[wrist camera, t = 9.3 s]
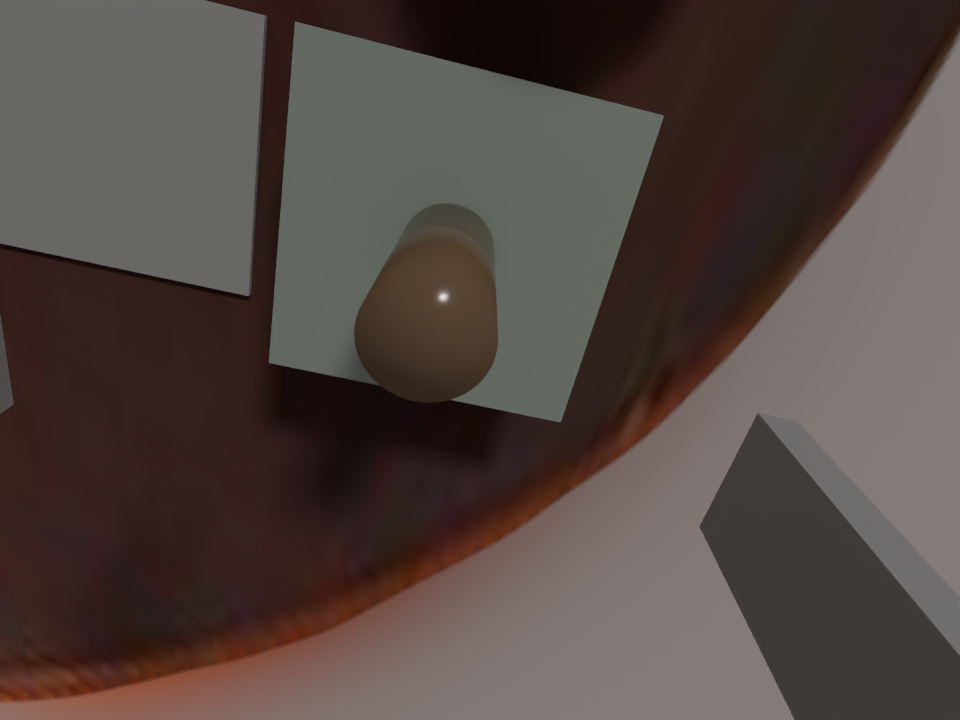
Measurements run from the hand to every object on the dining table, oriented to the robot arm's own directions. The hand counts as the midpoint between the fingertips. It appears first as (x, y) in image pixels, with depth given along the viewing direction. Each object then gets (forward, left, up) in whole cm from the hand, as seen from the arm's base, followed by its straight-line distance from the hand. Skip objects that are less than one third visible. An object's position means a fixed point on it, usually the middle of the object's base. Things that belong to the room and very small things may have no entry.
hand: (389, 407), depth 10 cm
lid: (0, 0, -13) cm, 13 cm away
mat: (-16, 0, -18) cm, 24 cm away
